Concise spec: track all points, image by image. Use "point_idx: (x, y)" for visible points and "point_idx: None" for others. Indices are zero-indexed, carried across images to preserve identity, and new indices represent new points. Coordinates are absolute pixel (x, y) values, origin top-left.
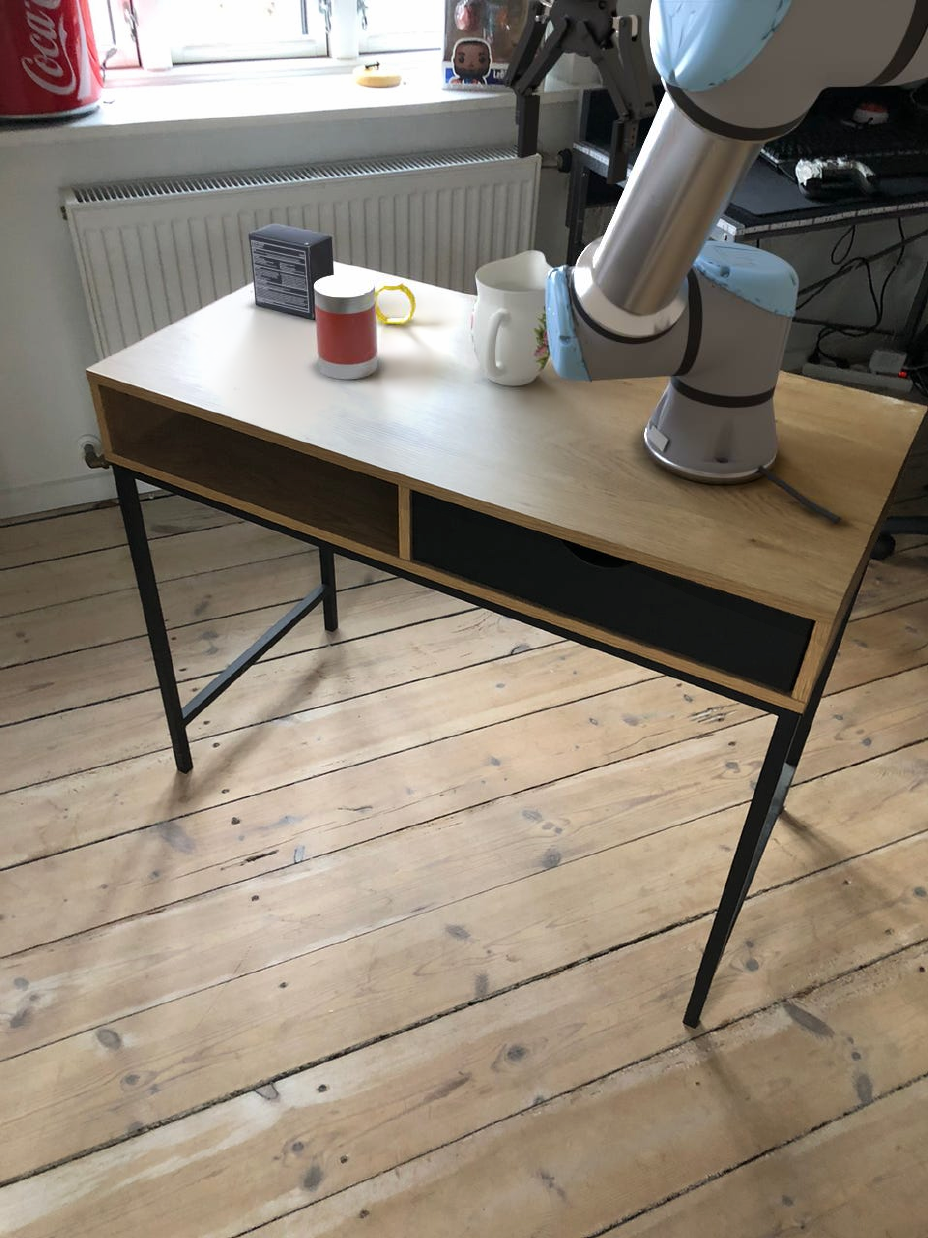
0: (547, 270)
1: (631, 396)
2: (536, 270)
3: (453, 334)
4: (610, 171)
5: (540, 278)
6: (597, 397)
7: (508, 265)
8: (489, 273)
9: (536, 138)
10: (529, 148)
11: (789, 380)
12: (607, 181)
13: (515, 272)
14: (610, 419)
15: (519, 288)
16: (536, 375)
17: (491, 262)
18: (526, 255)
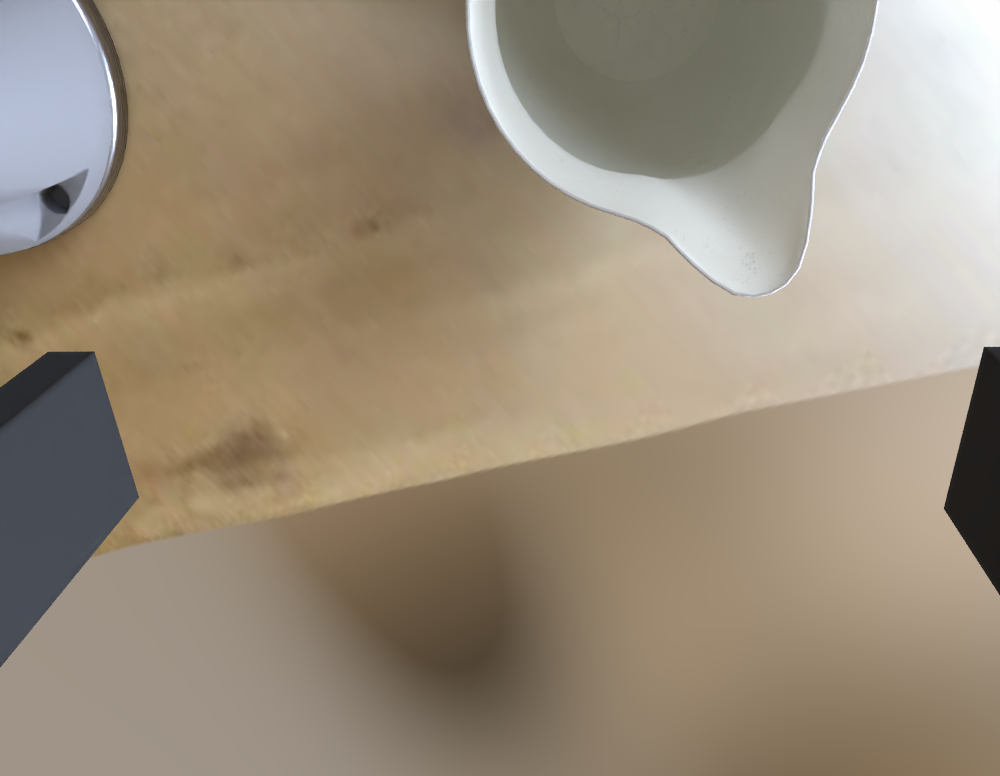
0: (629, 205)
1: (303, 175)
2: (703, 213)
3: (992, 73)
4: (14, 389)
5: (657, 186)
6: (354, 93)
7: (809, 125)
8: (849, 15)
9: (997, 576)
10: (990, 465)
11: (161, 517)
12: (79, 356)
13: (775, 145)
14: (231, 10)
15: (746, 148)
16: (532, 9)
17: (866, 37)
18: (790, 243)
